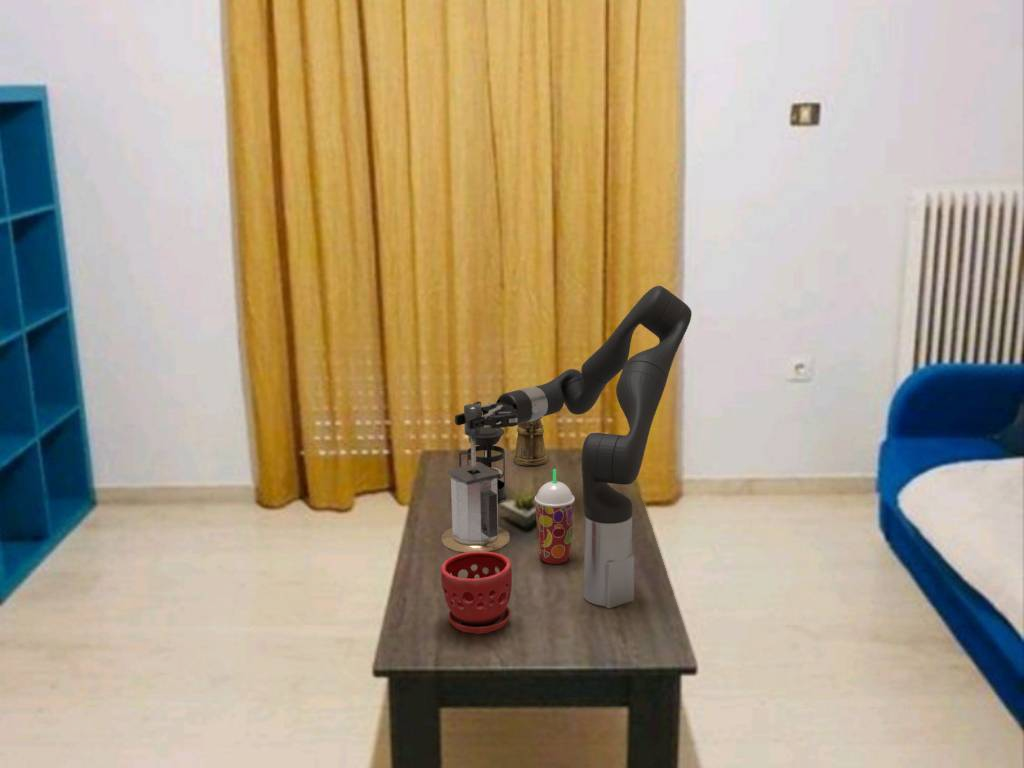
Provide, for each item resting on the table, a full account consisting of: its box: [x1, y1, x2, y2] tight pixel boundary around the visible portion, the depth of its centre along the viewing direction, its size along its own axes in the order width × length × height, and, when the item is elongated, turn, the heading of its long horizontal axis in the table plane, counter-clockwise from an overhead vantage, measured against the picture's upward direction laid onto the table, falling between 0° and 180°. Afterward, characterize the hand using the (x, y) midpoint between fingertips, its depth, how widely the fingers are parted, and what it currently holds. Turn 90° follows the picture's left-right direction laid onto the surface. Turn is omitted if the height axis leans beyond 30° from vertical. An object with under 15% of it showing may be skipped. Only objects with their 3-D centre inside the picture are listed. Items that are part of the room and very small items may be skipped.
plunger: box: [463, 403, 481, 474], centre depth 238 cm, size 8×8×22 cm
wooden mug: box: [513, 417, 548, 467], centre depth 287 cm, size 9×14×18 cm, turn 0°
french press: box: [458, 411, 507, 502], centre depth 264 cm, size 12×9×23 cm
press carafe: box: [441, 462, 511, 553], centre depth 241 cm, size 15×15×16 cm
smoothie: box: [534, 468, 576, 565], centre depth 230 cm, size 8×8×20 cm
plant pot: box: [440, 551, 513, 635], centre depth 205 cm, size 13×13×12 cm
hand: (462, 422), depth 234 cm, fingers closed on plunger, 3 cm apart
